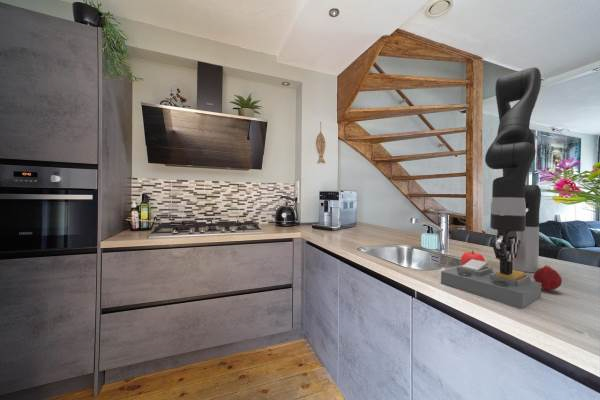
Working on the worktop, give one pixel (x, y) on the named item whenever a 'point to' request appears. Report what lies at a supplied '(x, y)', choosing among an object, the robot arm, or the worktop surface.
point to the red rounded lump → (548, 278)
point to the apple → (471, 257)
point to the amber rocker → (511, 275)
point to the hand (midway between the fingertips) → (505, 273)
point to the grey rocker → (475, 265)
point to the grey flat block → (493, 285)
